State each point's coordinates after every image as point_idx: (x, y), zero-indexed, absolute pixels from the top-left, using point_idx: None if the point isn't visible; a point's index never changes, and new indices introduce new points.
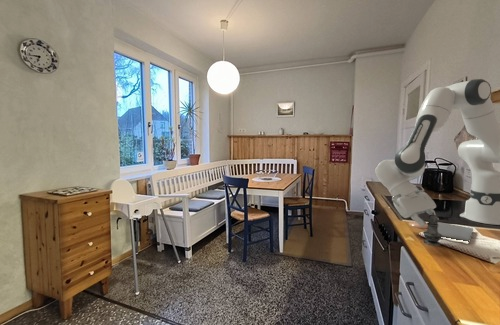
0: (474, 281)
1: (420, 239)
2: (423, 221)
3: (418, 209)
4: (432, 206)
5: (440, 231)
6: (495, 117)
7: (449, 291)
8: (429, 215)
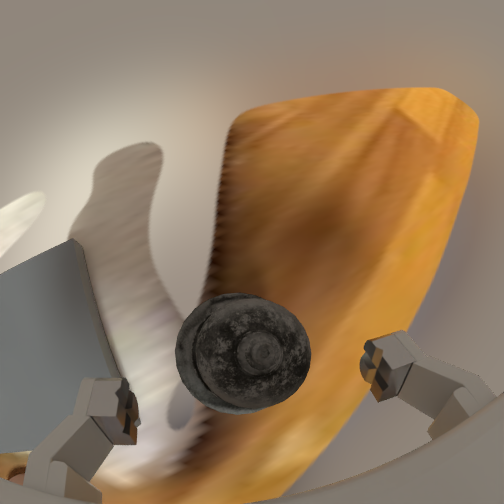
0: (391, 116)
1: (247, 418)
2: (400, 349)
3: (461, 455)
4: (3, 493)
5: (53, 399)
6: None
7: (462, 136)
8: (292, 386)
